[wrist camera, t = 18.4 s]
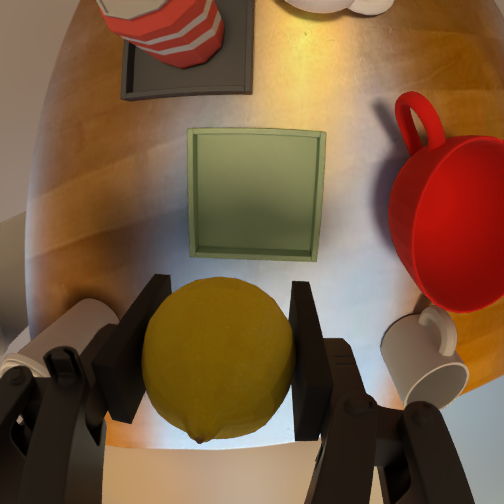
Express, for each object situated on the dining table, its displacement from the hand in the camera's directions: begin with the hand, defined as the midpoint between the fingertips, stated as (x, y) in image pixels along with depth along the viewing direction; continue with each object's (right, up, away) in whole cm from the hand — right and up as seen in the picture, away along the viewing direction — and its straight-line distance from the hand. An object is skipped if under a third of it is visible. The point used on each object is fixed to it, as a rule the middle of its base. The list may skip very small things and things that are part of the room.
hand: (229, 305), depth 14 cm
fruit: (0, 0, 0) cm, 1 cm away
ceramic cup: (+16, +9, +11) cm, 22 cm away
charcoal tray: (-4, +21, +8) cm, 23 cm away
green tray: (+1, +8, +12) cm, 15 cm away
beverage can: (-4, +21, +7) cm, 23 cm away
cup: (+19, -6, +17) cm, 26 cm away
